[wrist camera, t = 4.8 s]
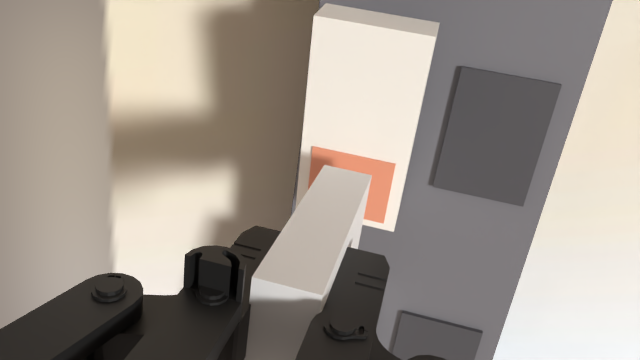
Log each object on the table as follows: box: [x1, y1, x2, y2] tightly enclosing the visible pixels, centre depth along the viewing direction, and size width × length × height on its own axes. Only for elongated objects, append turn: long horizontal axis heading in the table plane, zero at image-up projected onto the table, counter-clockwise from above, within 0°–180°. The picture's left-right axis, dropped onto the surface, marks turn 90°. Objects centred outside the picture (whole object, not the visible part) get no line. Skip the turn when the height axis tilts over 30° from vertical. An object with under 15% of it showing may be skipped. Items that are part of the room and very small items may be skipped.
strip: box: [291, 0, 613, 360], centre depth 20 cm, size 40×9×4 cm, turn 171°
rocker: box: [295, 3, 440, 232], centre depth 19 cm, size 7×4×2 cm, turn 171°
